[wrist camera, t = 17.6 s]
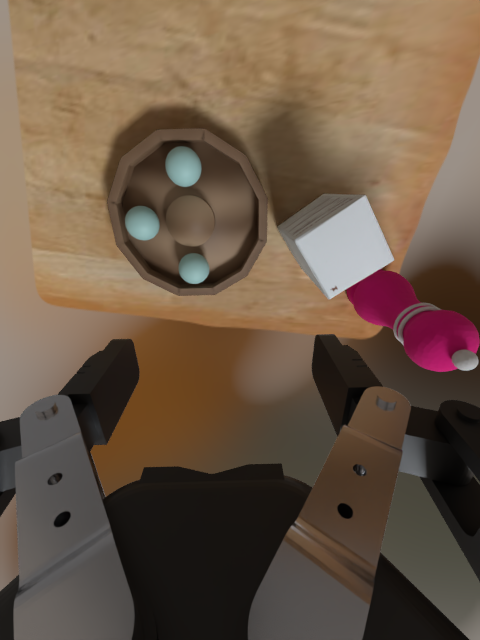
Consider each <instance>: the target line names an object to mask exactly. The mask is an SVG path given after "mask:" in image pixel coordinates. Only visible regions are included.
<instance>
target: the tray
mask: <svg viewBox="0 0 480 640" xmlns="http://www.w3.org/2000/svg"><path fill="white" fill-rule="evenodd" d="M179 146H184V147H188V148H190V149H192V150H193V151H194V152H195V153H196V154H197V156H198V157H199V159H200V162H201V175H200V177H199V179H198V181H197V182H196V183H195V184H193V185H191V186H188V187H182V186H179V185H177V184H175V183H174V182H173V181H172V180H171V179H170V178H169V176H168V174H167V172H166V167H165V162H166V158H167V155H168V153H169V152H170V151H171V150H172V149H174V148H175V147H179ZM107 201H108V202H107V203H108V208H109V213H110V218H111V222H112V227H113V232H114V236H115V241H116V245H117V247H118V248H119V249H120V251H121V252H122V253H123V254H124V256H125V257H126V258H127V259H128V261H129V262H130V263H131V264H132V266H133V267H134V268H135V269H136V271H137V272H138V273H139V275H140V276H141V277H142V278H143V279H145V280H147V281H149V282H151V283H153V284H155V285H157V286H159V287H161V288H163V289H165V290H167V291H169V292H171V293H173V294H176V295H178V296H188V295H216V294H217V293H219V292H221V291H222V290H224V289H226V288H228V287H229V286H231V285H233V284H234V283H236V282H238V281H239V280H241V279H243V278H245V277H246V276H247V275H248V273H249V272H250V270H251V268H252V266H253V265H254V263H255V261H256V259H257V258H258V256H259V254H260V253H261V251H262V249H263V247H264V246H265V244H266V242H267V204H268V198H267V196H266V194H265V192H264V190H263V188H262V186H261V184H260V182H259V180H258V178H257V176H256V174H255V172H254V170H253V168H252V166H251V164H250V162H249V160H248V158H247V157H246V156H245V154H243V153H242V152H240V151H239V150H237V149H235V148H234V147H232V146H231V145H229V144H228V143H226V142H225V141H223V140H222V139H220V138H218V137H217V136H215V135H214V134H212V133H211V132H209V131H208V130H206V129H204V128H203V129H158V130H156V131H154V132H153V133H152V134H151V135H149V136H148V137H147V138H145V139H144V140H143V141H142V142H140V143H139V144H138V145H137V146H135V147H134V148H133V149H131V150H130V151H129V152H128V153H126V154H125V155H124V156H122V157H121V159H120V162H119V165H118V168H117V172H116V175H115V178H114V181H113V184H112V187H111V191H110V194H109V197H108V200H107ZM135 206H145V207H148V208H150V209H151V210H153V211H154V212H155V213H156V215H157V216H158V219H159V223H160V227H159V231H158V233H157V235H156V236H155V237H154V238H152V239H150V240H138V239H136V238H134V237H133V236H132V235H131V234H130V233H129V232H128V231H127V229H126V226H125V217H126V214H127V212H128V211H129V210H130V209H131V208H133V207H135ZM190 253H197V254H200V255H202V256H203V257H204V258H205V259H206V260H207V262H208V264H209V274H208V276H207V278H206V279H205V280H204V281H203V282H201V283H198V284H191V283H188V282H186V281H185V280H184V279H183V278H182V277H181V276H180V273H179V263H180V261H181V259H182V258H183V257H184V256H185V255H187V254H190Z"/></svg>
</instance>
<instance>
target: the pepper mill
mask: <svg viewBox="0 0 480 640" xmlns="http://www.w3.org/2000/svg"><path fill="white" fill-rule="evenodd" d="M347 296H348V299H349V300H350V302H351V303H352V304H353V305H354V308H355V310H356V312H357V313H358V315H359V316H360V317H362V318H363V319H364V320H366V321H367V322H370V323H372V324H375V325H381V326H388V327H390V328H392V329H393V330H394V335H395V337H396V338H397V340H398V341H400V342H401V343H402V344H403V345H404V348H405V351H406V353H407V355H408V356H409V357H410V358H411V360H413V361H414V362H415V363H416V364H418V365H419V366H421V367H423V368H425V369H428V370H432V371H439V372H442V371H443V372H444V371H451V370H455V369H457V368H458V369H461V370H471V369H474V368H475V367H476V366H477V364H478V357H477V355H476V352H477V349H478V347H479V334H478V331H477V329H476V328H475V326H474V325H473V323H471V322H470V321H469V320H468V319H467V318H466V317H464V316H463V315H461V314H459V313H456V312H454V311H447V310H441V309H439V308H437V307H436V306H434V305H432V304H429V303H421V302H419V301H418V300H417V298H416V296H415V293H414V290H413V288H412V286H411V285H410V283H409V282H408V281H407V280H406V279H405V278H404V277H402V276H401V275H399V274H397V273H395V272H392V271H384V270H382V269H379V270H377V271H376V272H374V273H372V274H371V275H369V276H367V277H366V278H364V279H362V280H361V281H359V282H357V283H356V284H354V285H352V286H351V287H349V288H347Z"/></svg>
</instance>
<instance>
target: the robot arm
mask: <svg viewBox="0 0 480 640" xmlns="http://www.w3.org/2000/svg"><path fill="white" fill-rule="evenodd" d="M312 374H313V378H314V381H315V383H316V386H317V388H318V391H319V393H320V395H321V398H322V400H323V403H324V405H325V407H326V410H327V412H328V415H329V417H330V420H331V422H332V425H333V427H334V429H335V432H336V434H337V439H336V441H335V443H334V445H333V448H332V449H331V452H330V454H329V456H328V458H327V460H326V462H325V464H324V466H323V468H322V470H321V472H320V474H319V476H318V478H317V480H316V482H315V484H314V486H313V488H312V487H310V486H309V485H307V484H306V483H304V482H302V481H299V480H297V479H295V478H292V477H289V476H285V475H283V469H282V464H254V465H253V464H250V465H245V466H241V467H238V468H234V469H230V470H226V471H223V472H219V473H215V474H208V473H204V472H199V471H195V470H191V469H187V468H182V467H145V468H144V469H143V473H142V476H141V479H140V480H138V481H135V482H132V483H129V484H127V485H125V486H123V487H121V488H119V489H117V490H116V491H114V492H113V493H111V494H109V495H108V496H107V497H105V494H104V491H103V488H102V485H101V482H100V479H99V477H98V473H97V470H96V467H95V464H94V461H93V458H92V455H91V453H90V451H91V449H92V447H93V445H103V444H104V445H106V444H107V443H108V441H109V439H110V437H111V435H112V433H113V431H114V429H115V427H116V425H117V423H118V421H119V419H120V417H121V415H122V413H123V411H124V409H125V407H126V405H127V403H128V401H129V399H130V397H131V395H132V393H133V391H134V389H135V387H136V385H137V383H138V380H139V366H138V362H137V357H136V352H135V348H134V343H133V341H132V340H131V339H113V340H111V341H110V343H109V344H108V345H107V346H106V348H105V349H104V350H103V351H99V352H97V353H96V354H94V355H93V356H91V357H90V358H89V359H88V360H87V361H86V362H85V363H84V364H83V366H82V367H81V368H80V369H79V370H78V372H77V374H75V375H74V376H73V377H72V378H71V379H70V381H69V382H68V383H67V384H66V386H65V387H64V388H63V389H62V390H61V391H60V392H59V394H58V395H53V396H49V397H46V398H43V399H40V400H39V401H36V402H35V403H33V404H31V405H30V406H29V407H27V408H26V409H25V410H24V411H23V413H22V414H21V416H20V417H18V418H14V419H10V420H6V421H2V422H0V516H1V515H2V513H3V512H4V510H5V509H6V507H7V506H8V504H9V502H10V501H11V500H12V498H13V497H14V495H15V494H16V510H17V533H18V560H19V575H18V576H17V577H16V578H15V579H14V580H12V581H11V582H10V583H9V584H8V585H7V586H6V587H5V588H4V589H2V590H1V591H0V640H469V639H468V638H467V637H466V636H465V635H464V634H463V633H462V632H461V631H460V630H459V629H458V628H457V627H456V626H455V625H454V624H453V623H452V622H451V621H450V620H449V619H448V618H447V617H446V616H445V615H444V614H443V613H442V612H441V611H440V610H439V609H438V608H437V607H436V606H435V605H433V603H432V602H431V601H430V600H429V599H427V598H426V597H425V596H424V595H423V594H422V593H421V592H420V591H419V590H418V589H417V588H416V587H415V586H414V585H413V584H412V583H411V582H410V581H409V580H408V579H407V578H406V577H405V576H404V575H403V574H402V573H401V572H400V571H399V570H398V569H397V568H396V567H395V566H394V565H393V564H392V563H391V562H390V561H389V560H387V558H386V557H385V556H384V555H383V554H382V553H381V552H380V551H381V546H382V541H383V538H384V533H385V529H386V524H387V520H388V515H389V511H390V506H391V502H392V498H393V493H394V489H395V484H396V480H397V476H398V471H401V472H405V473H409V474H413V475H417V476H419V477H420V478H421V480H422V482H423V484H424V485H425V487H426V489H427V491H428V492H429V494H430V496H431V497H432V499H433V501H434V503H435V504H436V506H437V508H438V509H439V511H440V513H441V515H442V516H443V518H444V520H445V522H446V524H447V525H448V527H449V529H450V530H451V532H452V534H453V536H454V537H455V539H456V541H457V542H458V544H459V546H460V548H461V550H462V551H463V553H464V555H465V557H466V558H467V560H468V562H469V563H470V565H471V567H472V569H473V570H474V572H475V574H476V576H477V577H478V579H479V581H480V485H479V483H478V482H477V481H476V479H475V478H474V477H473V476H474V475H475V476H476V477H477V479H478V480H479V481H480V408H479V407H477V406H474V405H472V404H469V403H466V402H462V401H457V400H448V401H444V402H443V403H441V405H440V407H439V410H438V411H434V410H429V409H423V408H419V407H414V406H411V405H410V403H409V401H408V400H407V399H406V398H405V397H404V396H403V395H402V394H400V393H398V392H396V391H395V390H392V389H389V388H386V387H383V386H382V384H381V383H380V382H379V380H378V379H377V378H376V377H375V375H374V374H373V372H372V371H371V370H370V368H369V367H367V364H366V363H365V362H364V361H363V359H362V358H361V356H360V355H359V354H358V352H357V351H355V350H354V349H352V348H351V347H349V346H348V345H342V344H341V343H340V341H339V340H338V338H337V337H336V336H335V335H334V334H324V335H316V337H315V342H314V352H313V359H312Z"/></svg>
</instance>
